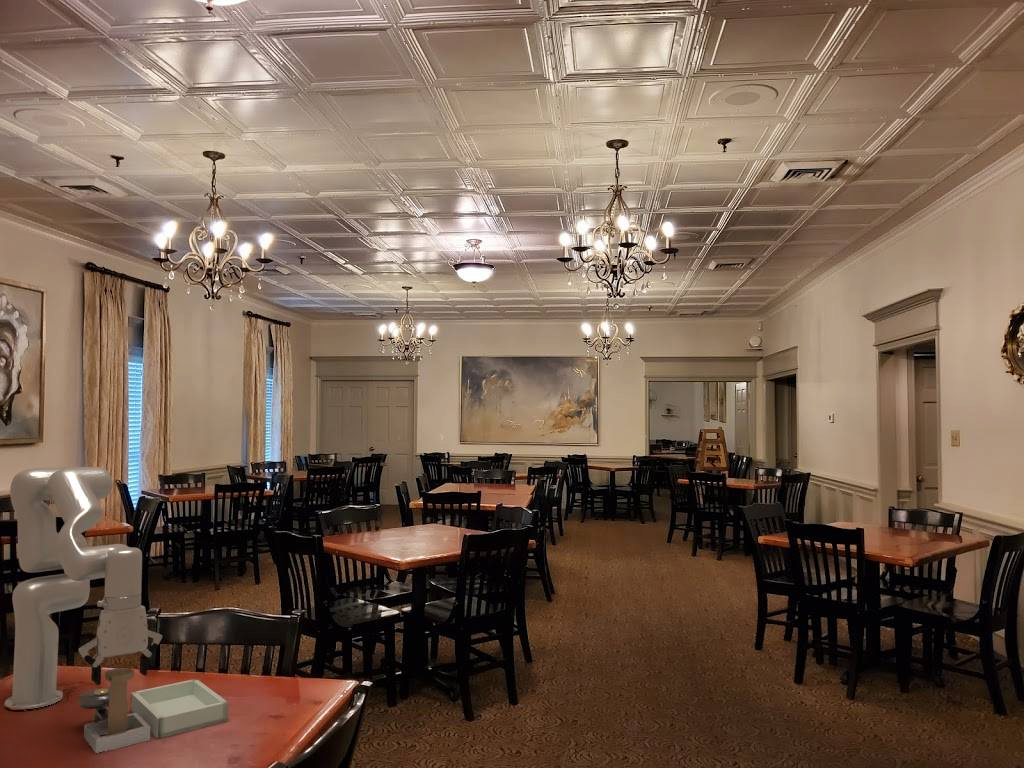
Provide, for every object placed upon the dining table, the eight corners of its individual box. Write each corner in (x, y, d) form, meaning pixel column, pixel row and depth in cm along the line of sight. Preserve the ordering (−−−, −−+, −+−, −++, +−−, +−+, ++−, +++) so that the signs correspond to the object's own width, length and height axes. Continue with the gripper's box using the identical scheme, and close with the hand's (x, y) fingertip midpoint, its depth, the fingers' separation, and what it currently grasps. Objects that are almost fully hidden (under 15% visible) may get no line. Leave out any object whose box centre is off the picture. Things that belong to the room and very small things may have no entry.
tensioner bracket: (73, 724, 177) (75, 689, 178) (124, 713, 185) (125, 679, 185) (95, 753, 162) (97, 715, 162) (149, 740, 169) (151, 703, 169)
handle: (117, 745, 166) (120, 677, 167) (97, 740, 168) (100, 673, 169) (136, 737, 170) (138, 670, 171) (115, 732, 173) (118, 667, 174)
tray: (130, 710, 186) (130, 692, 186) (195, 696, 197) (196, 678, 197) (157, 739, 170) (158, 718, 170) (227, 721, 180) (228, 702, 181)
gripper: (84, 611, 163) (81, 691, 161) (167, 599, 174) (165, 674, 173) (76, 606, 168) (73, 683, 167) (157, 594, 180) (155, 667, 178)
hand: (120, 678), depth 170 cm, fingers open, 9 cm apart
